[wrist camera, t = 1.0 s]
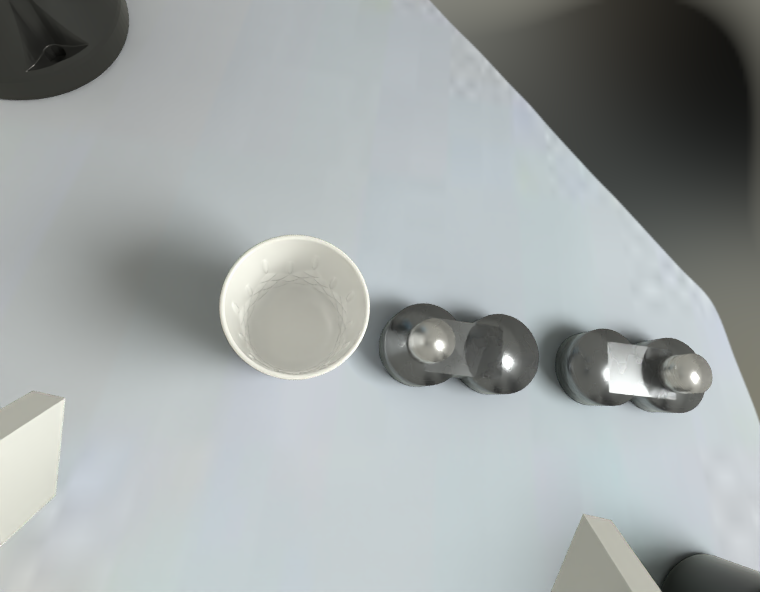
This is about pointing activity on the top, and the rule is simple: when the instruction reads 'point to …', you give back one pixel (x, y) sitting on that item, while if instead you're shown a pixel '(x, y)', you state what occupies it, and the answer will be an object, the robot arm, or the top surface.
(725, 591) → the ink bottle
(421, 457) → the top surface
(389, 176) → the top surface
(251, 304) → the white cup
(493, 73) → the top surface
